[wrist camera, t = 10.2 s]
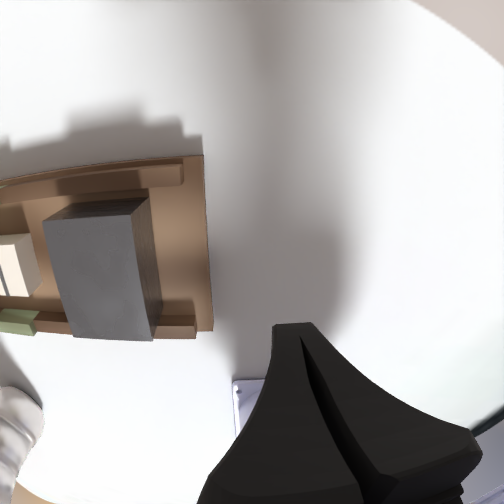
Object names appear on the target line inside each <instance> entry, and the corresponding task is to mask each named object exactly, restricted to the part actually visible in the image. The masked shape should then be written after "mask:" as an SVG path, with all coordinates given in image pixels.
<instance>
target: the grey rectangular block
mask: <svg viewBox="0 0 504 504" xmlns="http://www.w3.org/2000/svg"><path fill="white" fill-rule="evenodd" d="M42 225H43V230H44V235H45V240H46V244H47V249H48V253H49V257H50V261H51V265H52V269H53V273H54V277H55V281H56V284H57V288H58V291H59V295H60V298H61V301H62V304H63V308H64V311H65V314H66V317H67V320H68V323H69V326H70V329H71V331H72V334H73V337H77V338H90V339H106V340H127V341H153V338H154V335H155V332H156V329H157V326H158V322H159V319H160V316H161V313H162V310H163V307H164V306H163V300H162V294H161V288H160V281H159V274H158V268H157V260H156V253H155V245H154V237H153V228H152V219H151V210H150V199H149V197H138V198H124V199H111V200H99V201H88V202H78V203H71V204H69V205H68V206H66V207H64V208H63V209H61V210H59V211H58V212H56V213H54V214H53V215H51V216H50V217H48V218H47V219H45V220H43V221H42Z"/></svg>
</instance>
